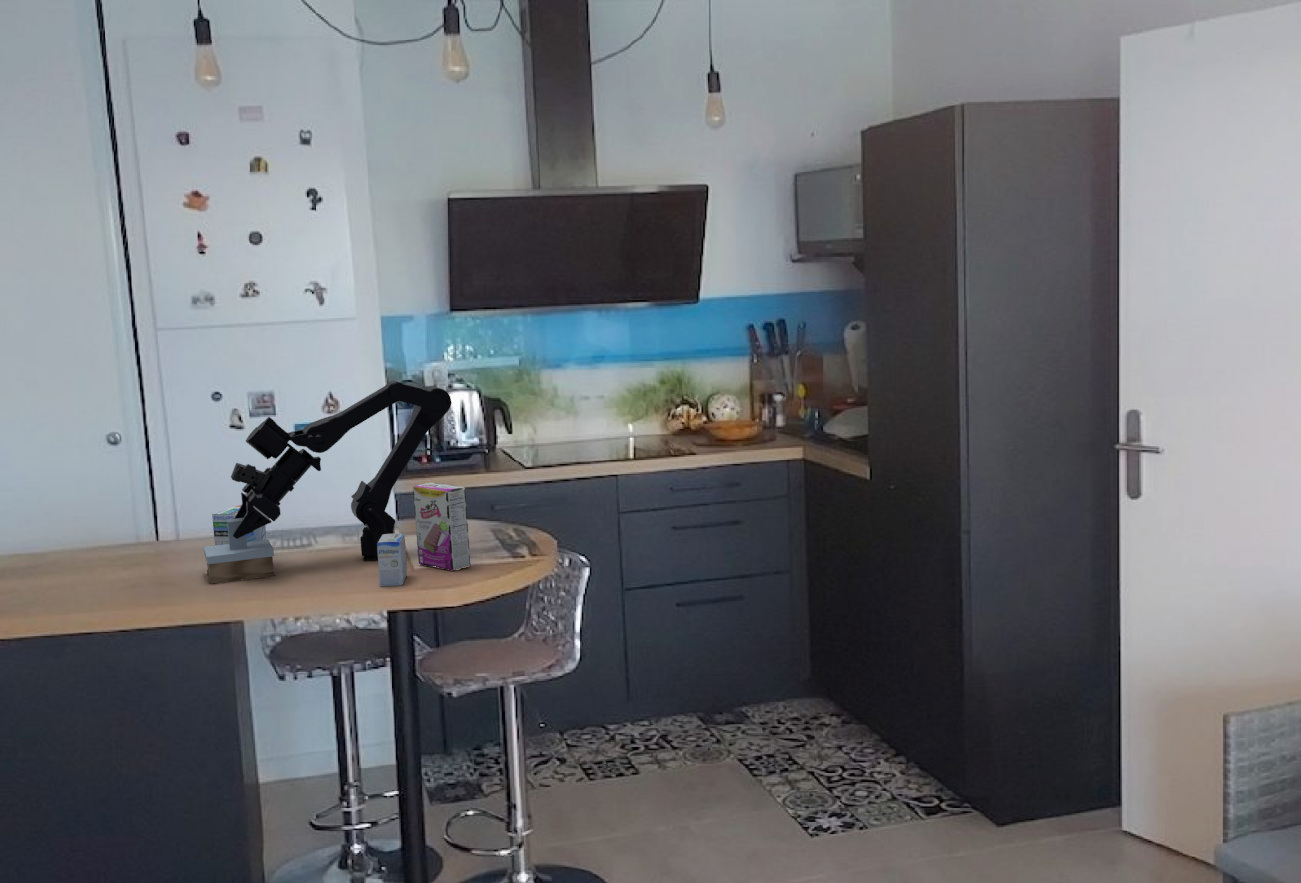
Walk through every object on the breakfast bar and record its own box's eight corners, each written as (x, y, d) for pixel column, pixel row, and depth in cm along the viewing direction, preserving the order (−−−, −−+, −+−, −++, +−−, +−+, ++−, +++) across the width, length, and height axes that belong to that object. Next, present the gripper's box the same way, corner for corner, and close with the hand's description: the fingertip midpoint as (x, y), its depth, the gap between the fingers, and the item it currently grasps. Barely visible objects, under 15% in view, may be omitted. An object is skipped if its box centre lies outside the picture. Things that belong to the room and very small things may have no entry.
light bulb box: (244, 564, 269) (239, 513, 268) (215, 564, 271) (210, 514, 269) (269, 552, 280) (264, 504, 278) (240, 552, 281) (236, 504, 280)
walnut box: (269, 565, 267) (268, 546, 266) (274, 575, 257) (273, 556, 257) (207, 573, 262) (205, 554, 262) (210, 584, 253) (208, 564, 252)
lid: (268, 546, 266) (265, 512, 265) (274, 556, 257) (270, 520, 256) (204, 554, 262) (201, 519, 261) (207, 564, 252) (204, 528, 251)
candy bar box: (417, 565, 260) (411, 485, 258) (436, 560, 264) (431, 481, 262) (452, 572, 253) (446, 490, 251) (471, 567, 257) (466, 486, 254)
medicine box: (384, 577, 251) (381, 534, 250) (407, 576, 252) (404, 532, 251) (379, 587, 244) (376, 542, 243) (403, 585, 244) (400, 540, 243)
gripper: (249, 443, 267) (197, 501, 264) (258, 453, 249) (202, 515, 247) (291, 477, 271) (241, 534, 268) (302, 489, 253) (249, 551, 251)
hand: (232, 533), depth 258 cm, fingers open, 9 cm apart
